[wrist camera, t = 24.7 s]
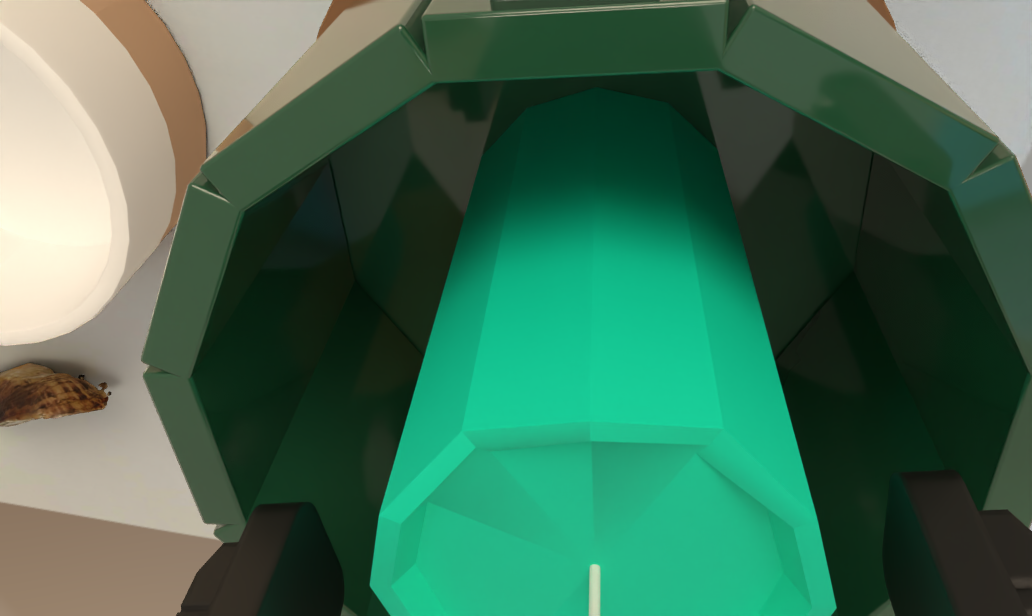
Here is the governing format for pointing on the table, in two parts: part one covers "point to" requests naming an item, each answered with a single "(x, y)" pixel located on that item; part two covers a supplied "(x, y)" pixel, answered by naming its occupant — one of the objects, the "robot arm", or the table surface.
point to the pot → (758, 209)
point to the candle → (599, 393)
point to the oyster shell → (45, 395)
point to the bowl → (87, 156)
